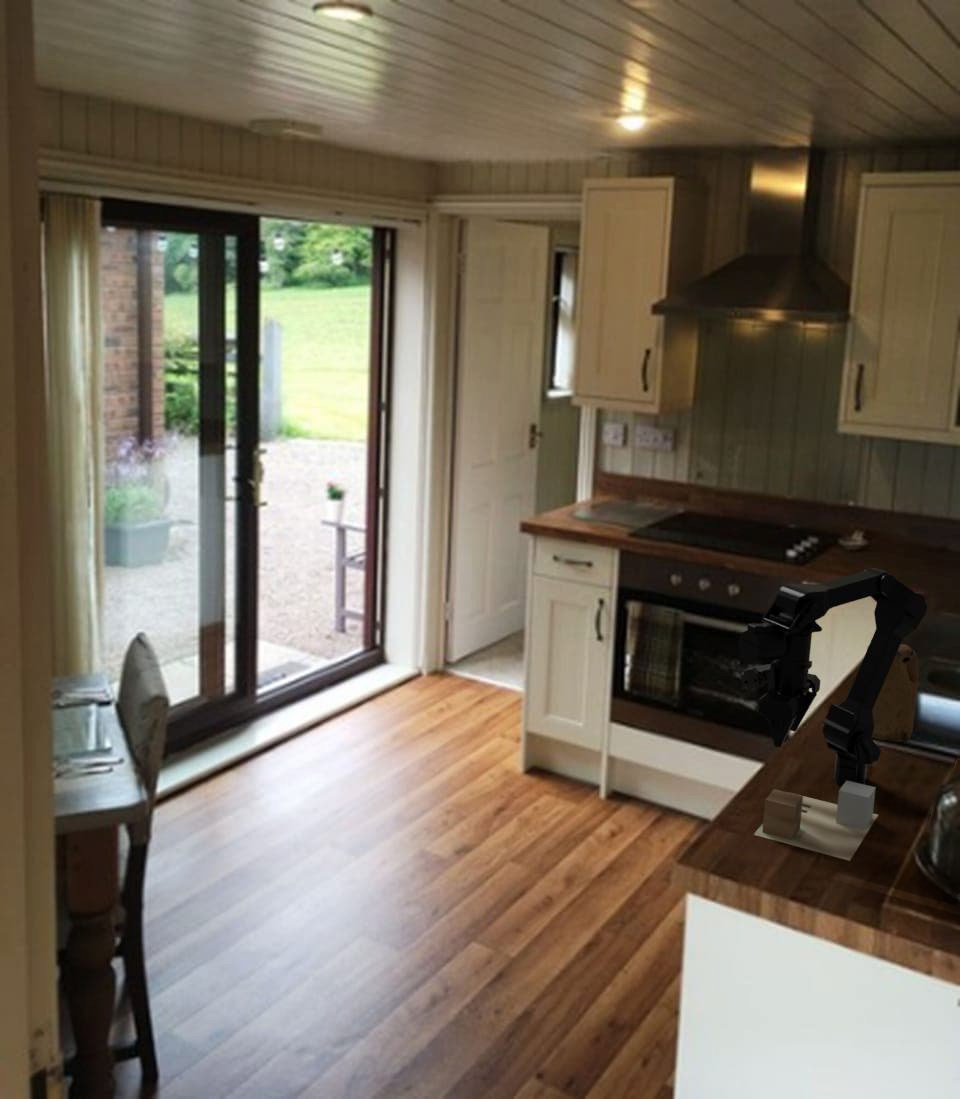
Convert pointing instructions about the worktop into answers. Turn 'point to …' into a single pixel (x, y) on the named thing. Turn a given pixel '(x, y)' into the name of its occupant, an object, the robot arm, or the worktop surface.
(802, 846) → the board
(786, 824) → the walnut block
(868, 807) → the grey block
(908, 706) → the block
